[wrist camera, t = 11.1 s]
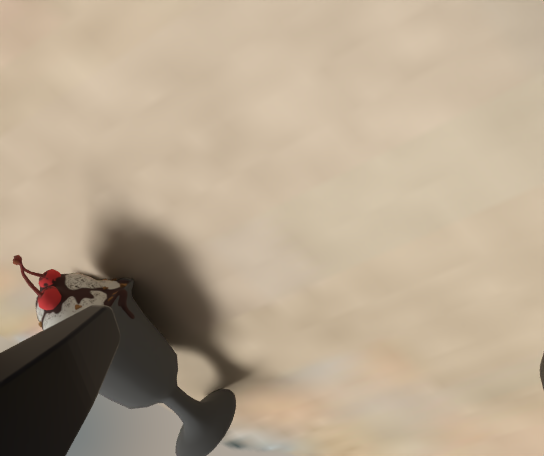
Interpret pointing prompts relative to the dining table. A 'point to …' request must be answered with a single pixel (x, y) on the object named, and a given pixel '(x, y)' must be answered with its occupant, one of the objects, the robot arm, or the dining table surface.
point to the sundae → (136, 357)
